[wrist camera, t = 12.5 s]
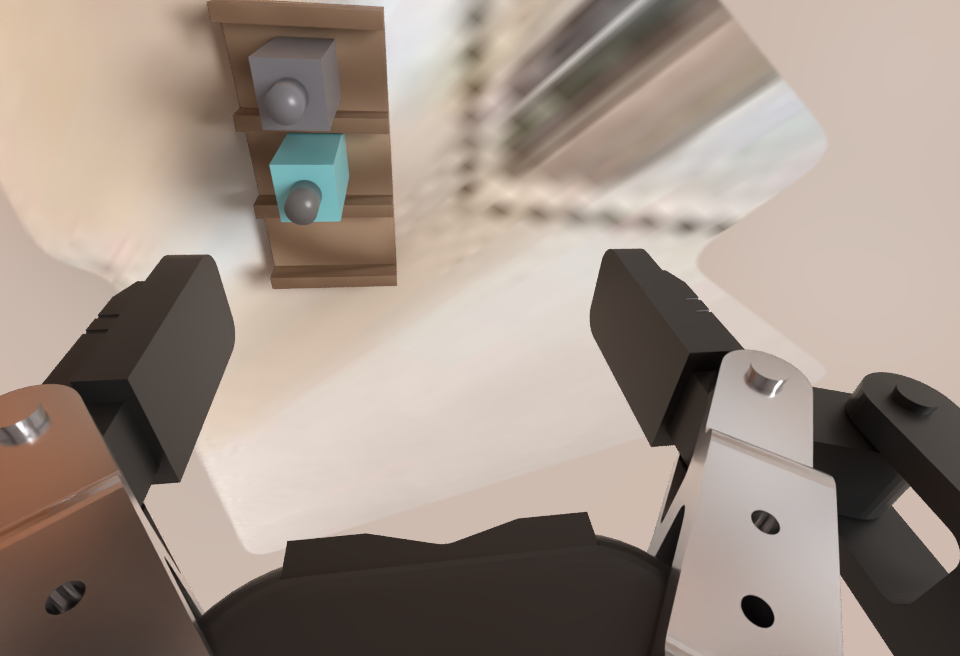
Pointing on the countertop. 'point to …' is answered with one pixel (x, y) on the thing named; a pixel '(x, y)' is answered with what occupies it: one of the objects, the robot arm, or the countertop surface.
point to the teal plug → (310, 177)
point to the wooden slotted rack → (360, 115)
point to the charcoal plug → (296, 83)
